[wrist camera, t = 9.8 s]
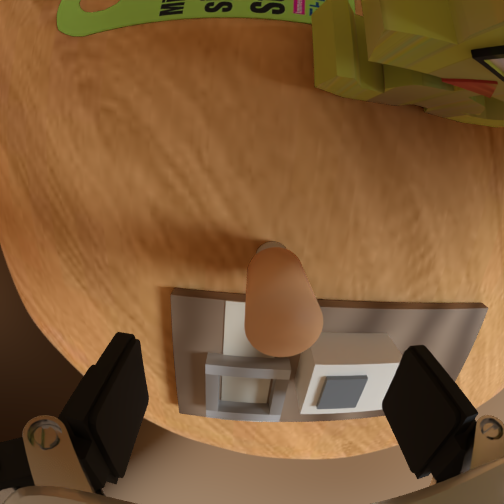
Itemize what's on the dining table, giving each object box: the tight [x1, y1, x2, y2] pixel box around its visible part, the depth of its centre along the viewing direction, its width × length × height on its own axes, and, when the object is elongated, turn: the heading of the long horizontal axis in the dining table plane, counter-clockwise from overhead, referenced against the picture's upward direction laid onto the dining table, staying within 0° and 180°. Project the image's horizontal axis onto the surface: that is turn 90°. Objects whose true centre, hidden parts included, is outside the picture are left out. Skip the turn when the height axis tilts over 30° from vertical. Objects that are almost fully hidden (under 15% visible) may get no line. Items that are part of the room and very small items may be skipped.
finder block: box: [294, 332, 402, 414], centre depth 20 cm, size 7×5×4 cm
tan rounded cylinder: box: [244, 242, 323, 357], centre depth 16 cm, size 3×3×9 cm
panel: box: [171, 288, 488, 422], centre depth 23 cm, size 29×13×3 cm, turn 85°
